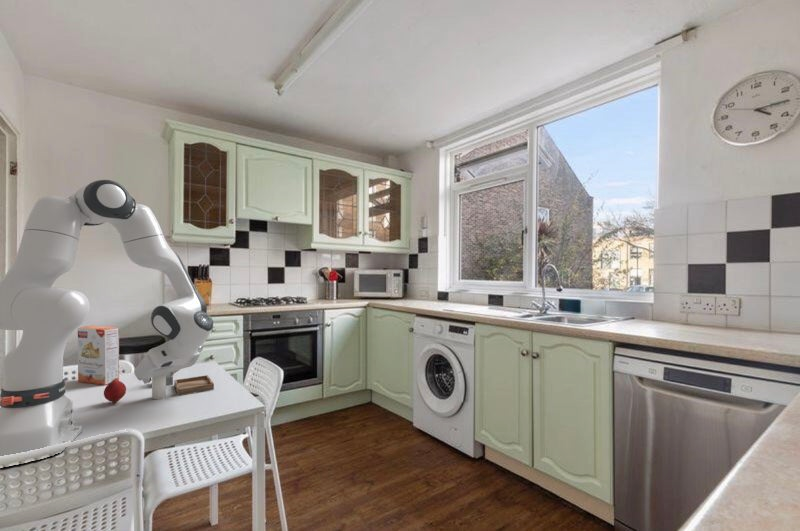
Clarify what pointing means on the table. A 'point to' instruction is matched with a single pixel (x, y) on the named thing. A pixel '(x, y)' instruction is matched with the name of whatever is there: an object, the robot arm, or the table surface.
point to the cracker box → (98, 354)
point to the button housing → (169, 380)
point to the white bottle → (159, 386)
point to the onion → (114, 391)
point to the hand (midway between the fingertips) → (157, 378)
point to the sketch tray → (193, 385)
